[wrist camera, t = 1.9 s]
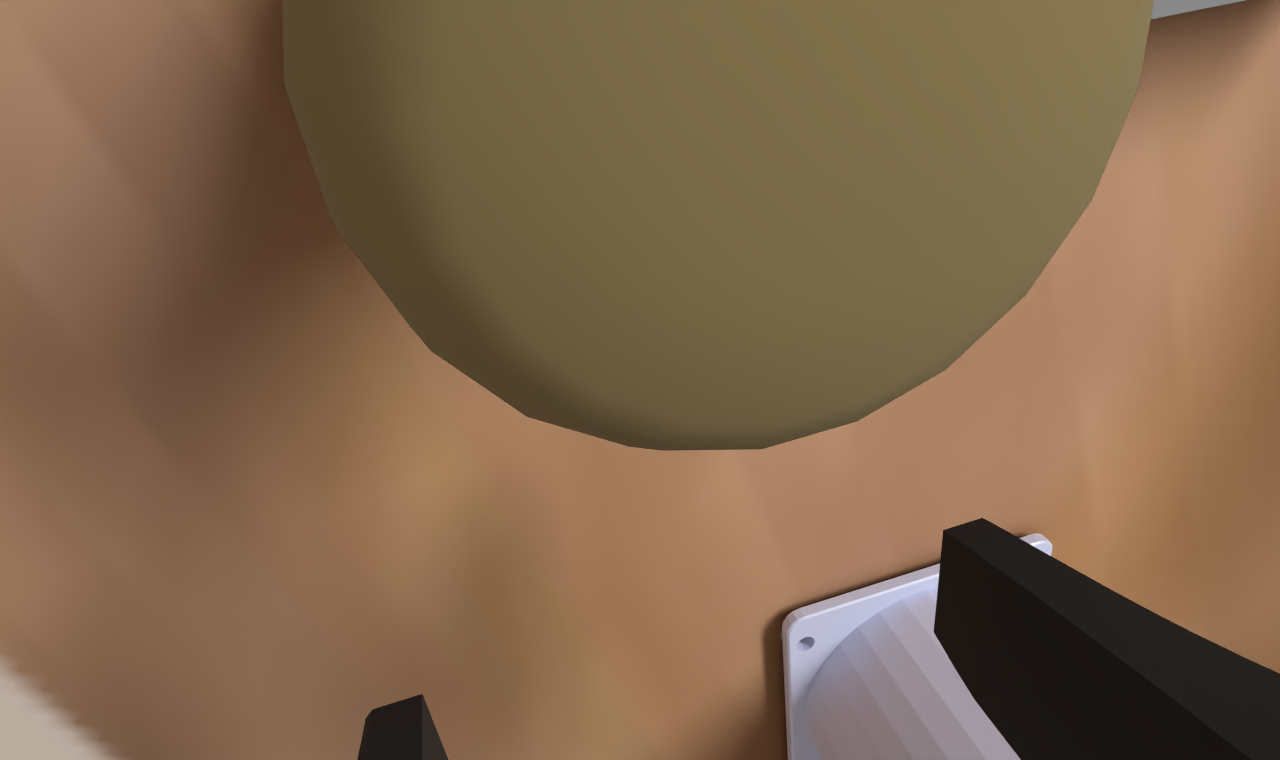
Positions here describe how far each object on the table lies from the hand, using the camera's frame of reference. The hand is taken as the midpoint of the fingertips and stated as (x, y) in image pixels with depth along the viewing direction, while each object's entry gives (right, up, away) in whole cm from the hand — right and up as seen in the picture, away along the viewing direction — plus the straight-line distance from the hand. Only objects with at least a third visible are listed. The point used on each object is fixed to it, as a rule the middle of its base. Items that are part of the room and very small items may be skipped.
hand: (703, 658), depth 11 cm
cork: (-3, +10, +2) cm, 11 cm away
